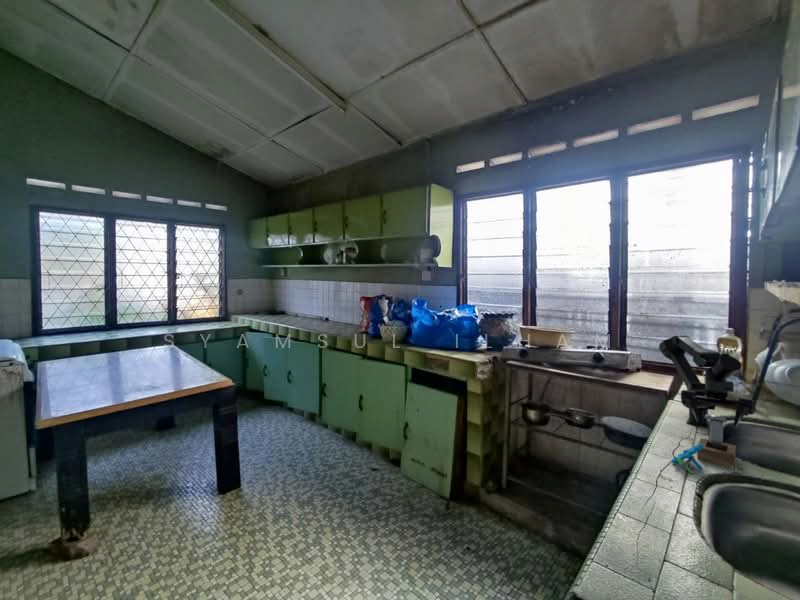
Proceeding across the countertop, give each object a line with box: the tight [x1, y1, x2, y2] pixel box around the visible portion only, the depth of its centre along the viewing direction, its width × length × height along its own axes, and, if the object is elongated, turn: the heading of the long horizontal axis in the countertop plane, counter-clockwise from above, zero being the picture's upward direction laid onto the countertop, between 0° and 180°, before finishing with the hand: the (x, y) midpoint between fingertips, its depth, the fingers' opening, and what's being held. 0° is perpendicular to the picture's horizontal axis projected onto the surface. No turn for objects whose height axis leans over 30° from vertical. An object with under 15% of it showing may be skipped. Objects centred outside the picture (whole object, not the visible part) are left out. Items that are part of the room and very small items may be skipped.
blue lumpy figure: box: [671, 443, 704, 475], centre depth 108 cm, size 11×6×10 cm
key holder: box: [696, 437, 737, 469], centre depth 113 cm, size 8×8×4 cm
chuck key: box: [705, 414, 727, 451], centre depth 113 cm, size 3×5×13 cm, turn 49°
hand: (715, 424), depth 119 cm, fingers open, 9 cm apart
